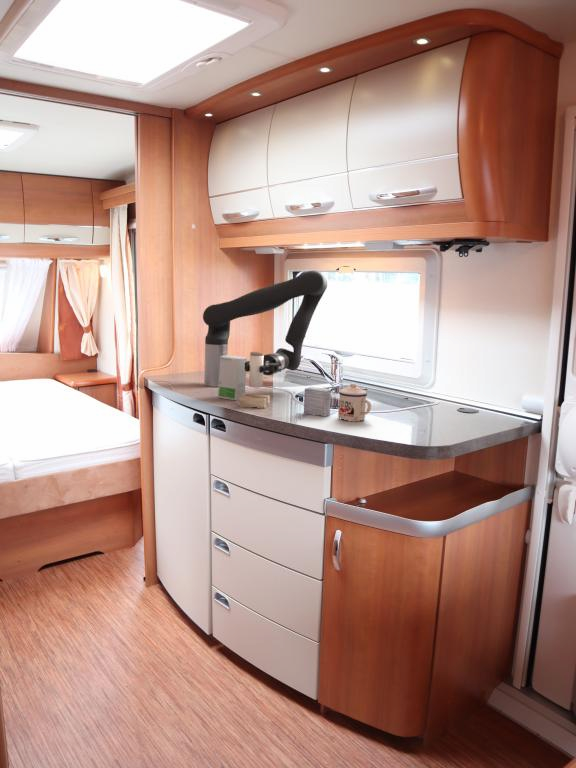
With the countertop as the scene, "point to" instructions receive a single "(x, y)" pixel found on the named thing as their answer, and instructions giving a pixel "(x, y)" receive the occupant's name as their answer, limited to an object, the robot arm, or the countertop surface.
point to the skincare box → (232, 377)
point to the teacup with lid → (353, 403)
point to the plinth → (254, 400)
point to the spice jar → (256, 369)
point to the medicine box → (317, 401)
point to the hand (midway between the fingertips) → (253, 369)
